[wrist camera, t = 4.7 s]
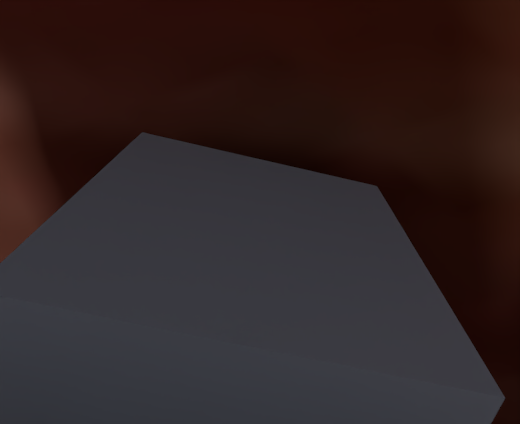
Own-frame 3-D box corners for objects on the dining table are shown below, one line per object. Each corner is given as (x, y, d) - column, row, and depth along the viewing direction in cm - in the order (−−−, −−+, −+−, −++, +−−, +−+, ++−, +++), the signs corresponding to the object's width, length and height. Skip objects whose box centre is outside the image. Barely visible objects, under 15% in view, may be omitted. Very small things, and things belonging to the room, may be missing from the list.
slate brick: (141, 132, 10) (-29, 290, 4) (377, 185, 10) (505, 398, 5) (103, 419, 13) (-26, 730, 7) (284, 453, 13) (294, 775, 8)
